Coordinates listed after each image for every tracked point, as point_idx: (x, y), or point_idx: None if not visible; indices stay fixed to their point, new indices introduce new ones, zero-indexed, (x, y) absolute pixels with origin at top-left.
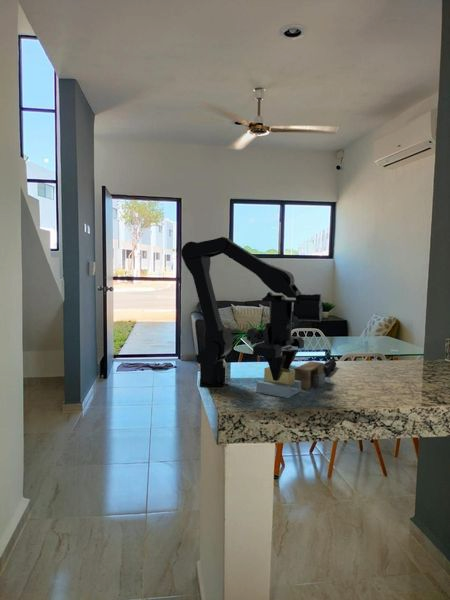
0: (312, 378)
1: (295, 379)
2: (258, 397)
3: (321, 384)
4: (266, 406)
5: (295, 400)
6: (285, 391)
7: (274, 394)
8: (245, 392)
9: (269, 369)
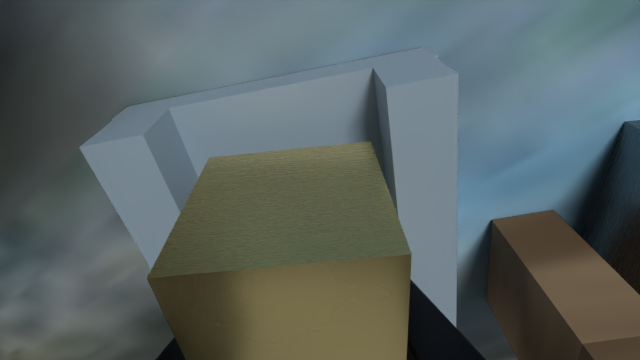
0: None
1: (524, 279)
2: (56, 206)
3: None
4: (4, 327)
5: None
6: None
7: None
8: (17, 36)
9: (183, 341)
